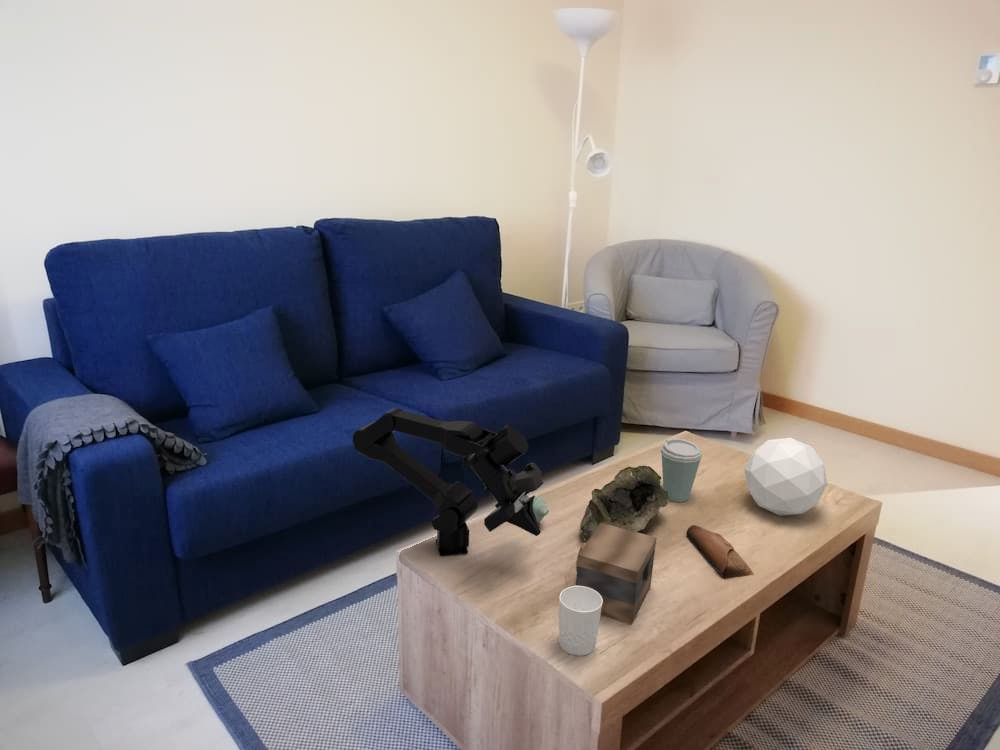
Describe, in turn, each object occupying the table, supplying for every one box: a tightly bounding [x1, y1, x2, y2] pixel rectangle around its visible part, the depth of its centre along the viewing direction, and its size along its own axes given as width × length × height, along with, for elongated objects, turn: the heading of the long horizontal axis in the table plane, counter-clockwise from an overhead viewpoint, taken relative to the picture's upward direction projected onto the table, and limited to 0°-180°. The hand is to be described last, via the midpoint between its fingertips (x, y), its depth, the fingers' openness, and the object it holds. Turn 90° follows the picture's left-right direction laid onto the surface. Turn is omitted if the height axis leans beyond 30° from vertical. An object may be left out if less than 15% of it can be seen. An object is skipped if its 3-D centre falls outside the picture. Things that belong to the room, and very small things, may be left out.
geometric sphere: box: [743, 437, 828, 517], centre depth 186 cm, size 19×20×20 cm
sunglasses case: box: [685, 524, 755, 580], centre depth 167 cm, size 18×7×7 cm
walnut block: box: [575, 523, 657, 626], centre depth 149 cm, size 12×14×12 cm
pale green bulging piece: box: [533, 495, 549, 524], centre depth 177 cm, size 8×4×7 cm, turn 43°
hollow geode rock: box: [579, 465, 669, 543], centre depth 177 cm, size 28×13×15 cm
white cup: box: [558, 585, 603, 657], centre depth 135 cm, size 8×8×10 cm
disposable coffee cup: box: [659, 437, 703, 503], centre depth 191 cm, size 11×11×15 cm
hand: (538, 534), depth 155 cm, fingers closed
